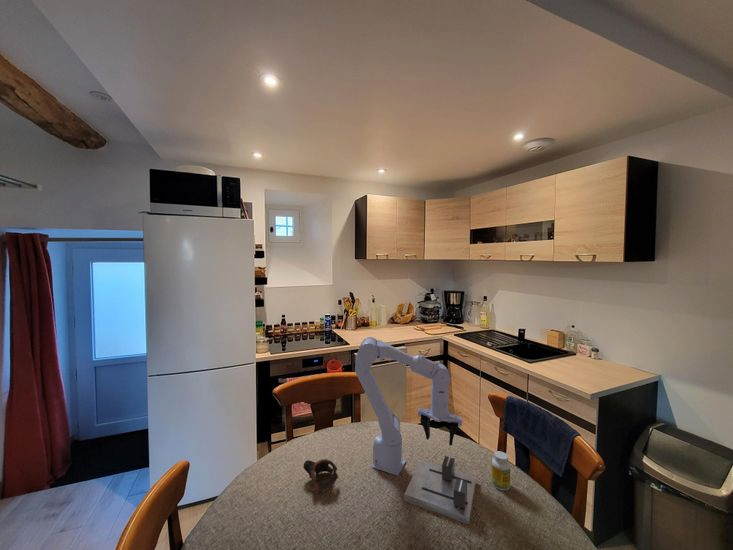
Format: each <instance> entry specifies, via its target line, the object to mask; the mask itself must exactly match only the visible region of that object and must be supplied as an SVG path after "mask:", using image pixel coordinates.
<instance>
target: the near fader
mask: <svg viewBox="0 0 733 550" xmlns="http://www.w3.org/2000/svg"><path fill="white" fill-rule="evenodd" d="M466 499H467V481H464V480H460V479H456V483H455V487H454V497H453V505H456V506H458V507H461V508H464V509H465V504H466Z"/></svg>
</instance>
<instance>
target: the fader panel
mask: <svg viewBox="0 0 733 550" xmlns="http://www.w3.org/2000/svg"><path fill="white" fill-rule="evenodd" d="M456 479H460V480H464V481H467V499H466V504H465V509H464V508H461V507H458V506H456V505H453V497H454V487H455V483H456ZM476 485H477V476H476V475H472V474H469V473H465V472H462V471H459V470H455V469H454V475H453V478H452V481H449V480H446V479H443V478H442V465H440V464H436V463H432V462H429V461H426V460H423V459H420V460H419V462H418V463H417V466H416V469H415V470H414V473H413V475H412V477H411V479H410V481H409V483H408V486H407V487H406V490H405V492H404V495H403V496H404V501H405V502H407V503H410V504H412V505H414V506H418V507H421V508H423V509H426V510H429V511H431V512H434V513H436V514H439V515H442V516H444V517H448V518H450V519H453V520H456V521H458V522H461V523H463V524H466V525H470V523H471V518H472V510H473V505H474V497H475V491H476ZM472 504H473V505H472Z"/></svg>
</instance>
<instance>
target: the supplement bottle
mask: <svg viewBox="0 0 733 550" xmlns="http://www.w3.org/2000/svg"><path fill="white" fill-rule="evenodd" d="M491 484H492V486H493V487H494V488H496V489H497V490H499V491H508V490H509V489H510V488H511V463H510V462H509V455H508V454H507V453H506V452H504V451H499V450H497V451H495V452H494V453H493V458H492V460H491Z"/></svg>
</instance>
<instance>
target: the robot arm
mask: <svg viewBox="0 0 733 550" xmlns="http://www.w3.org/2000/svg"><path fill="white" fill-rule="evenodd" d="M378 357H379V358H378ZM377 358H378V360H379V361H381V360H384V359H386V358H389V359H391V360H394V361H396V362H398V363H401V364H403V365H407V366H408V367H409V369H410V371H411V372H413V373H415V374H417V375H420V376H422V377H424V378H426V379H429V380H431V391H430V392H431V396H430V399H431V400H430V408H431V409H430V408H421V407H419V408H418V409H417V417H420V424H421V426H422V428H423V430H424V433H425V438H426V440H429V439H430V438H431V430H430V429H431V427H430V426H431V419H433V420H434V421H435V422H439V423H440V422H447V423H449V427H448V429H449V441H448V442H449V443H448V445H449V446H452V445H453V441H454V437H455V434H456V432H457V430H458V428H459V427H462V426H463V417H460V416H457V415H455V414H452V413H450V412H449V405H450V404H449V402H450V387H449V385H450V383H451V381H452V377H451V373H450V372H449V370H448V368H447V367H446V365H444V364H443V363H441V362H438V361H435V362H434V361H432V360H431V359H428V358H426V355H424V354H421V355H420V354H416V355H410V354H408V353H406V352H404V351H403V350H401V349H399V348H397V347H395V346H393V345H391V344H389V343H387V342H385V341H383V340H381V339H376V338H374V337H372V336H369V337H366V338H364V339H363V340H362V341H361V344H360V346H359V348H358V351H357V353H356V359H355V365H354V366H355V367H354V372H355V374H356V377H357V378H358V381H359V383H360V384H361V386H362V387H361V388H362V389H363V391H364V392H365V395H366V397H367V399H368V401H369V403H370V405H371V407H372V409H373V411H374V413H375V415H376V417H377V420H378V421H377V422H378V424H379V429H380V430H381V431H380V432H381V435H379V434H378V435H376V436H375V439H374V442H373V446H372V465H371V467H372V468H373V469H376V470H378V471H383V472H385V473H388V474H391V475H394V476H399V475H400V473H401V471H402V469H403V468H404V466H405V464H406V463H407V461H406V460H405V459H402V458H403V455H402V453H403V450H402V449H403V438H402V434H401V420H400V418H399V417H398V416H397V415H396V414H394V411H393V410H392V409H391V408H390V407H389V405H388V403H387V401H386V399H385V397H384V394H383V393H382V390H381V388H380V386H379V384H378V382H377V380H376V378H375V376H374V374H373V372H372V370H371V367H372V365H373V363H374V362H375V361H376V360H377Z"/></svg>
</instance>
